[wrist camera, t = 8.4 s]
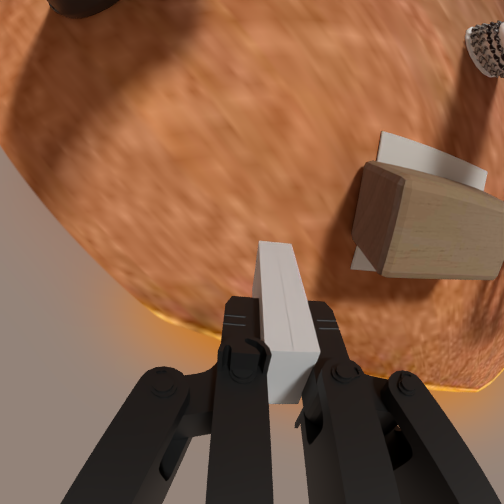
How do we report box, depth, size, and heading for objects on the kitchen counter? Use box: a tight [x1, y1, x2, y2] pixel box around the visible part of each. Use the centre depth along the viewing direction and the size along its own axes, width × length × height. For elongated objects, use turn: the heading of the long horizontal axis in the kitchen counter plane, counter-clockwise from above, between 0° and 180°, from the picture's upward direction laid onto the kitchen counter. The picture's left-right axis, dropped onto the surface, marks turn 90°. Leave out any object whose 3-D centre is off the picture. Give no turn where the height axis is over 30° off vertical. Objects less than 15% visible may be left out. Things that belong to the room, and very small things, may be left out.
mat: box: [350, 131, 488, 271], centre depth 31 cm, size 18×20×1 cm
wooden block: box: [352, 161, 504, 280], centre depth 26 cm, size 10×10×20 cm
